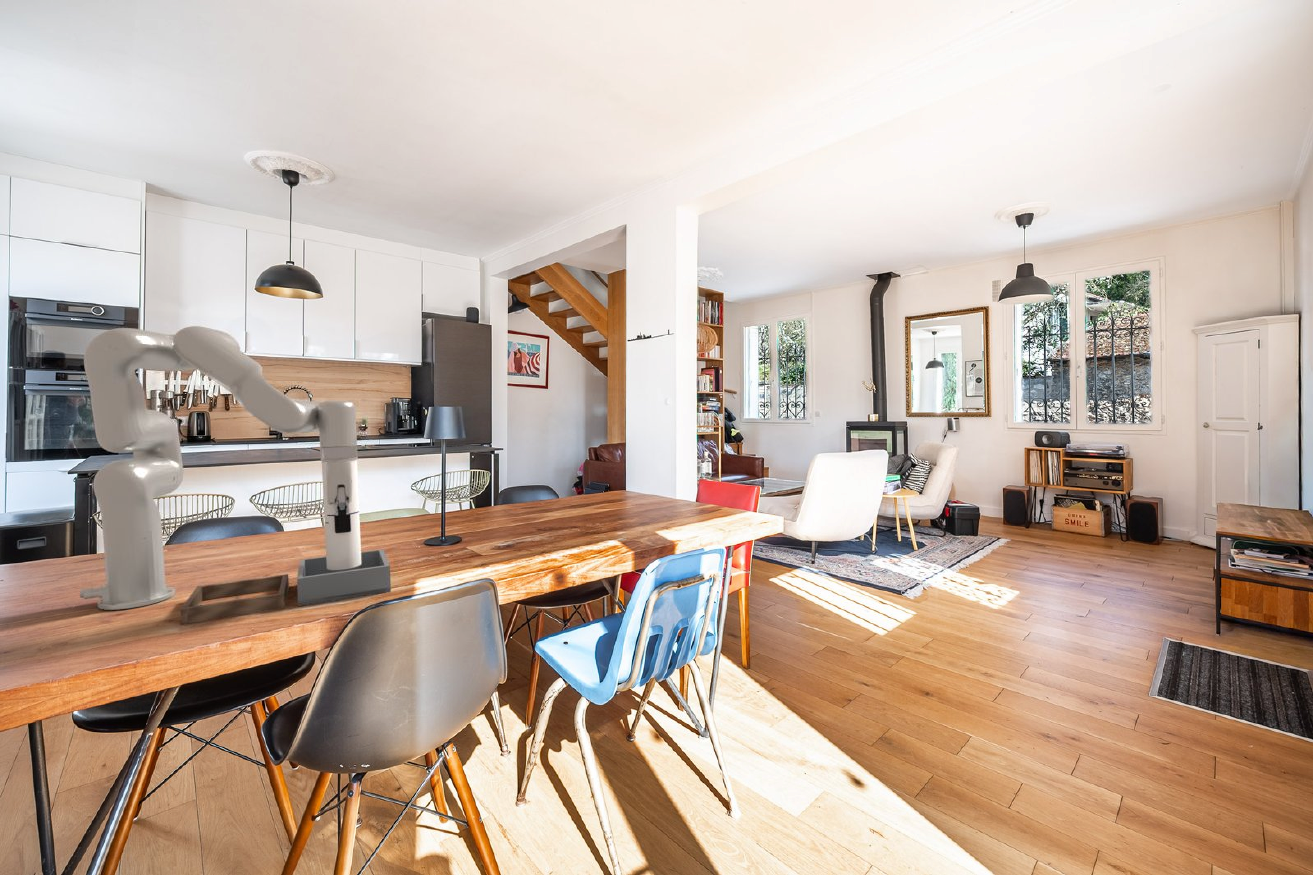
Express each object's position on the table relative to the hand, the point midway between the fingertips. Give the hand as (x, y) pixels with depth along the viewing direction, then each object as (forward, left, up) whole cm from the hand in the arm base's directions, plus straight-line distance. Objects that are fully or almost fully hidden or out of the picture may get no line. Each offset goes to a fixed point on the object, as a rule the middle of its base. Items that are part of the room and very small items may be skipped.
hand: (342, 528), depth 131 cm
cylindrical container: (0, 0, -9) cm, 9 cm away
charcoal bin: (0, 0, -14) cm, 14 cm away
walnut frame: (-20, 0, -14) cm, 24 cm away
